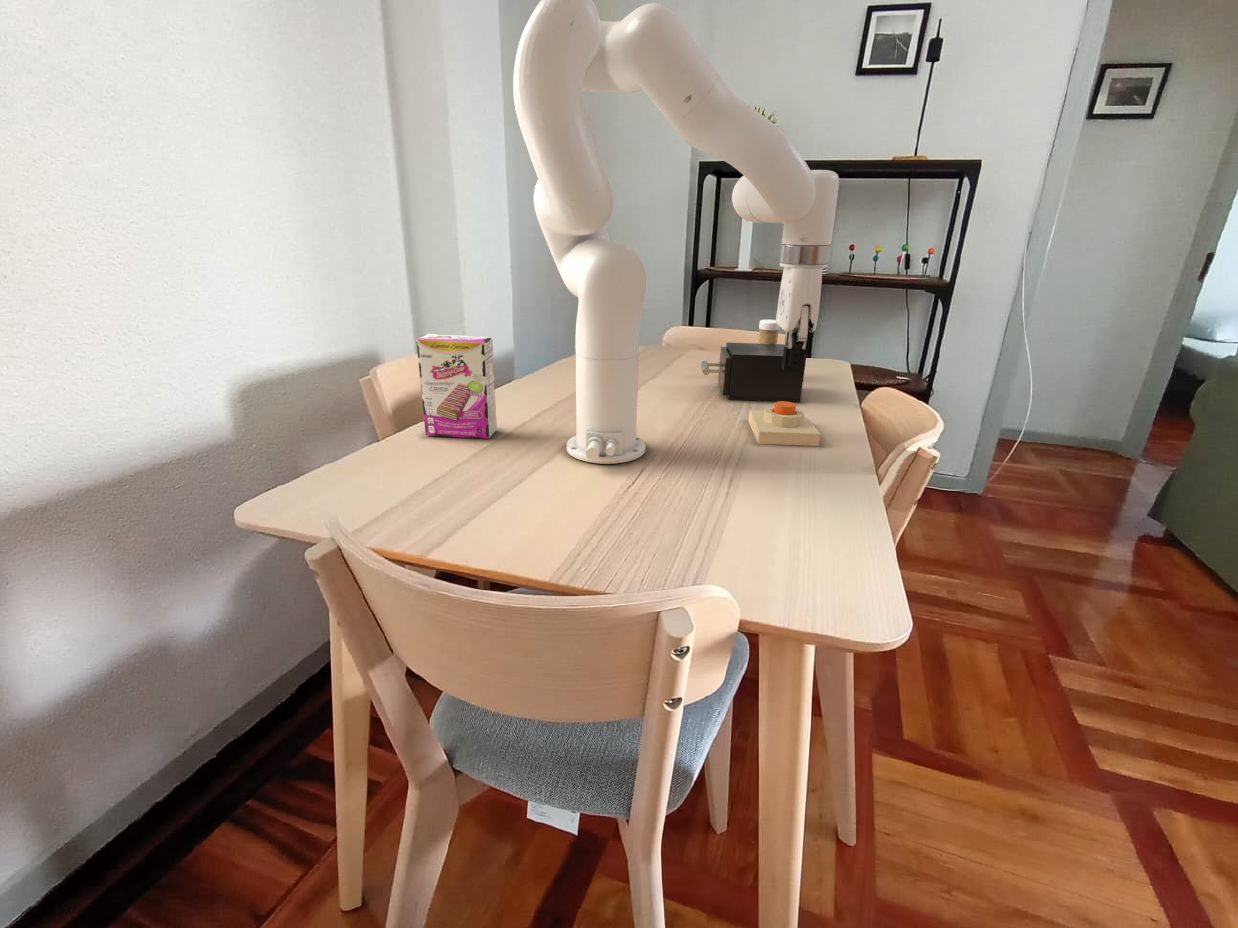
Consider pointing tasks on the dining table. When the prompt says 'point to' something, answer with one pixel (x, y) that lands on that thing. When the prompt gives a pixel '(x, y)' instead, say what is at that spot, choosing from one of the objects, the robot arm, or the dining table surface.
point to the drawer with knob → (720, 370)
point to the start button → (784, 408)
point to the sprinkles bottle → (768, 332)
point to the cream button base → (783, 428)
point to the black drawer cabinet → (762, 374)
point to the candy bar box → (457, 385)
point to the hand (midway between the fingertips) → (792, 371)
